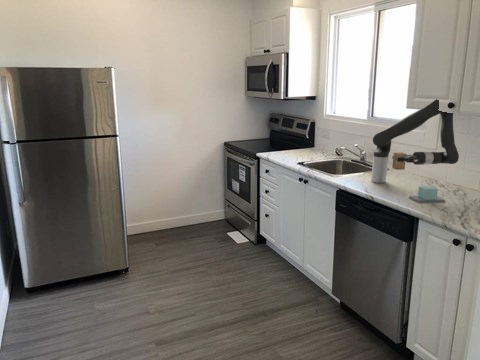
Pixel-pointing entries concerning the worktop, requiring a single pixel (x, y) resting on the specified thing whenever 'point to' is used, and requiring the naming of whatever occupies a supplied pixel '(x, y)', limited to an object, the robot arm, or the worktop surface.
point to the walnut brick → (398, 164)
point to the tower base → (419, 200)
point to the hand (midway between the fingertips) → (395, 158)
